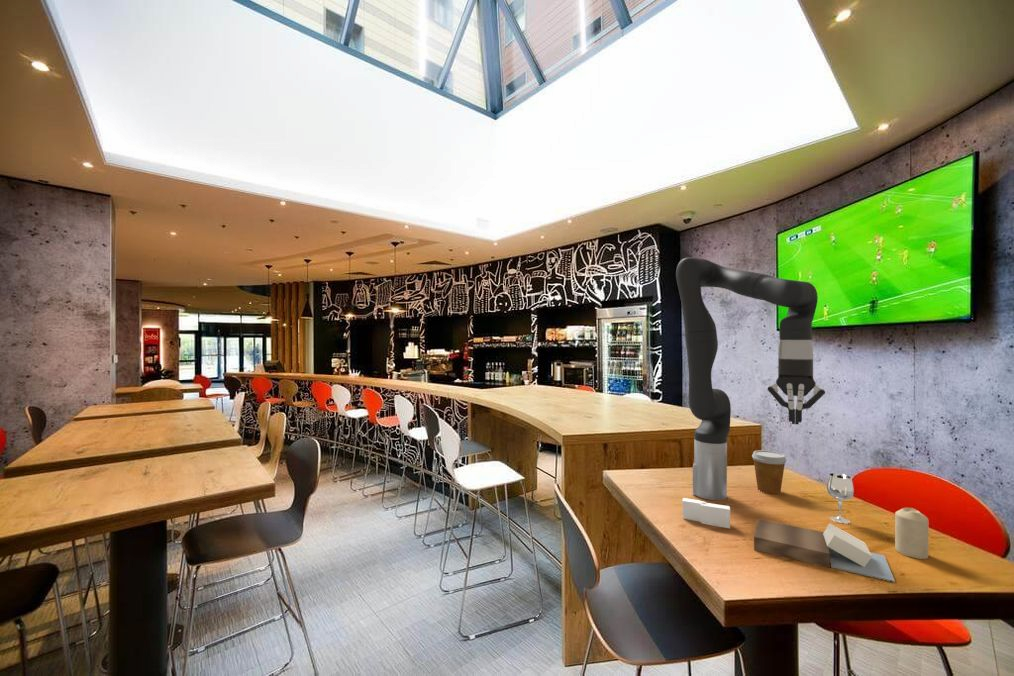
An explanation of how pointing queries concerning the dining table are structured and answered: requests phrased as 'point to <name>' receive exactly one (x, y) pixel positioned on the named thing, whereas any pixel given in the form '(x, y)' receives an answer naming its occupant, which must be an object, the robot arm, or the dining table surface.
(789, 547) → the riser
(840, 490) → the wineglass
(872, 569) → the mat
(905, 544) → the candle
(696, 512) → the napkin holder
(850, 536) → the white block
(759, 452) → the disposable coffee cup
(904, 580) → the dining table surface
